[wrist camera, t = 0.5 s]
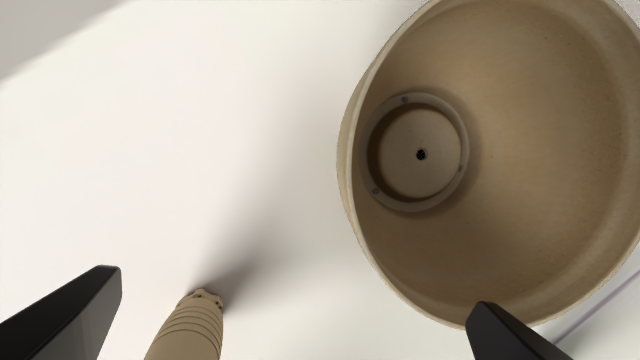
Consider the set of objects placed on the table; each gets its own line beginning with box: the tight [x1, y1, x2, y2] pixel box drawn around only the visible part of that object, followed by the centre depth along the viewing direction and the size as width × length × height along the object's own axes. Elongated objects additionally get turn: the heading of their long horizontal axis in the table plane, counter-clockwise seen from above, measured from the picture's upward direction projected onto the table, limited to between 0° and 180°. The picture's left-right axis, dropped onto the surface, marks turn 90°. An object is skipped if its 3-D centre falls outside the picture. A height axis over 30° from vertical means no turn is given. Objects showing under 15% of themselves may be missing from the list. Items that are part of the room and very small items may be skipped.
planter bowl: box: [337, 0, 640, 331], centre depth 19 cm, size 16×16×11 cm
